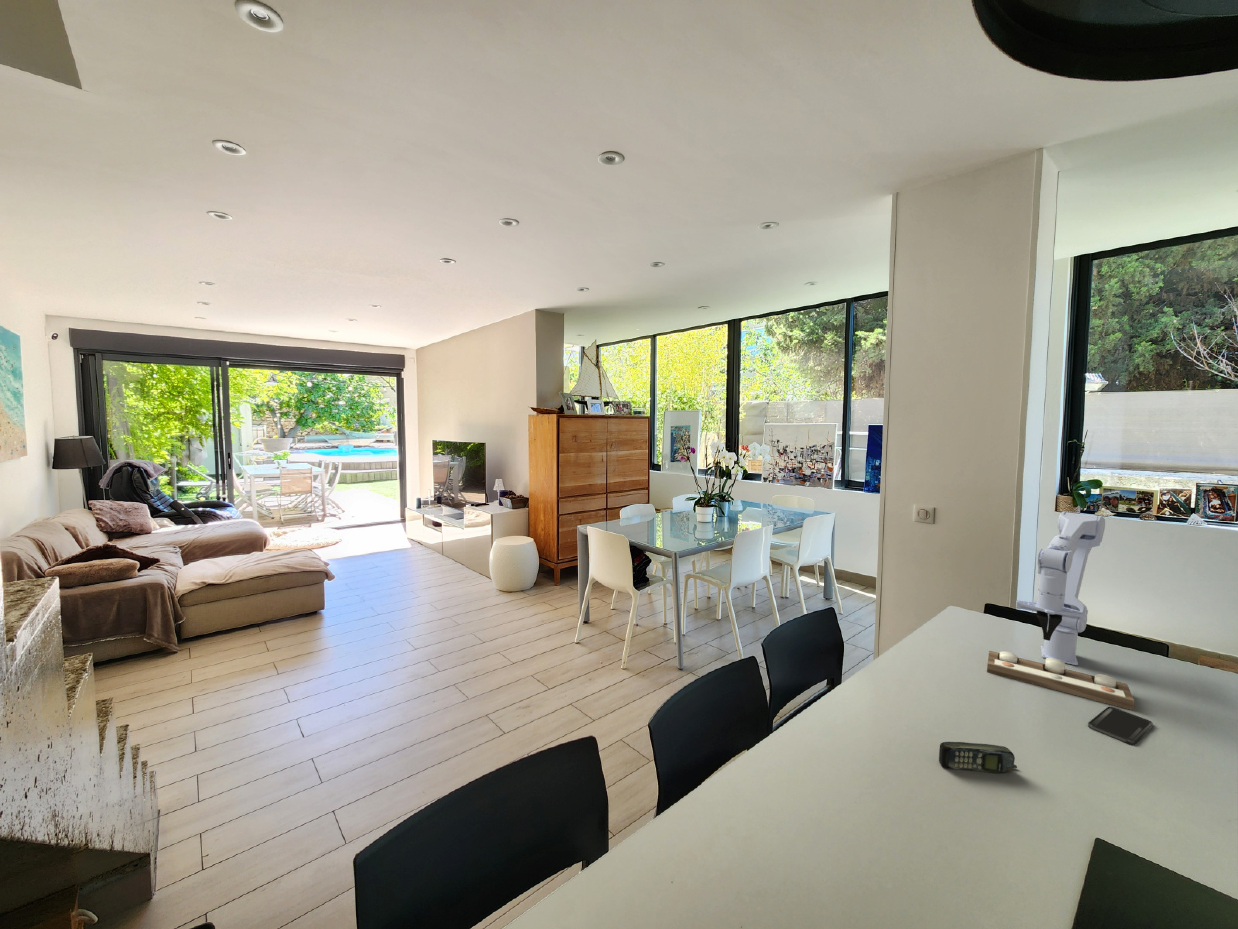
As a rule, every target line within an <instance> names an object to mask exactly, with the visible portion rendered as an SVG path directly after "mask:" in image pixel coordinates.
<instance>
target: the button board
mask: <svg viewBox="0 0 1238 929" xmlns="http://www.w3.org/2000/svg"><path fill="white" fill-rule="evenodd" d="M999 657H1000V652H997V651H994V650H993V651H992V650H988V657H987V658H988V660H987V667H986V672H987V673H989V674H994V675H996V676H997V675H998V676H1001V677H1004V678H1009V679H1013V680H1016V681H1020V682H1023V683H1028V684H1032V685H1035V686H1039V687H1043V688H1047V689H1050V690H1054V691H1059V692H1062V693H1066V694H1070V695H1074V696H1076V697H1077V696H1078V697H1080V698H1084V699H1089V700H1092V701H1096V702H1100V703H1104V704H1108V705H1111V706H1114V707H1115V706H1116V707H1119V708H1123V709H1127V710H1130V711H1134V706H1135V699H1134V697H1133V694H1132V692H1131V689H1130V687H1129V685H1128V683H1124V682H1122V681H1118V680H1116V687H1115V689H1118V690H1122V691H1123V692H1124V694H1125V698H1124V697H1120V696H1116V695H1113V694H1109V693H1105V692H1101V691H1097V690H1093V689H1089V688H1085V687H1081V686H1077V685H1073V684H1069V683H1065V682H1061V681H1057V680H1053V679H1049V678H1045V677H1042V676H1038V675H1034V674H1030V673H1026V672H1022V671H1018V670H1014V669H1010V668H1006V667H1002V666H998V665H994V663H995V659H997V660H999ZM1017 665H1021V666H1025V667H1029V668H1033V669H1037V670H1041V671H1045V672H1049V673H1053V672H1050V671H1048V670H1046V669H1045V663H1042V662H1037V661H1034V660H1029V659H1025V658H1020V657H1018V658H1017ZM1053 674H1057V675H1061V676H1065V677H1069V678H1073V679H1077V680H1081V681H1085V682H1089V683H1093V684H1094V679H1095V675H1091V674H1088V673H1083V672H1079V671H1075V670H1070V669H1067V668H1065V670H1064V673H1063V674H1058V673H1053ZM1097 685H1098V684H1097ZM1101 686H1102V685H1101ZM1105 687H1106V686H1105ZM1109 688H1110V687H1109Z"/></svg>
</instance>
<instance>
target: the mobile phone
mask: <svg viewBox="0 0 1238 929" xmlns="http://www.w3.org/2000/svg"><path fill="white" fill-rule="evenodd" d="M1015 760H1016V758H1015V754H1014V752H1012V751H1011V750H1010V748H1008V747H1007V746H1003V745H995V744H989V743H977V742H975V743H974V742H965V741H943V742H941V743H940V744H939V752H938V762H939V764H940V766H941V767H942V768H943V769H944V768H945V769H954V770H962V771H963V770H965V771H975V772H984V773H990V774H992V773H993V774H995V773H998V774H1000V773H1005V772H1009V771H1011V770H1013V769H1017V768H1018V766H1017V764H1015Z"/></svg>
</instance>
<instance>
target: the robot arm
mask: <svg viewBox="0 0 1238 929" xmlns="http://www.w3.org/2000/svg"><path fill="white" fill-rule="evenodd" d="M1057 528H1058V533H1059V534H1057V535H1055V536H1054V537H1053V538H1052V539H1051V540H1050V542H1049V544H1048V545H1047V546H1046V547H1044V548H1041V549H1040V550H1039V551H1038V554H1037V573H1038V575H1039V578H1038V586H1037V596H1036V602H1033V601H1026V600H1024V601H1023V600H1020V599H1019V600H1016V604H1015V608H1016V609H1018V610H1026V611H1031V612H1036V617H1037V619H1038V621H1039V623H1040V627H1041V630H1042V639H1043V640H1044V641H1043V645H1040V651H1041V652H1040V653H1041V657H1042V658H1043V659H1046V658H1055V659H1058V660H1061V661H1063V662H1064V663H1065V664H1069V665H1073V666H1078V665H1079V662H1078V659H1077V655H1076V654H1077V644H1078V634H1079V633H1082V632H1084V631H1085V630H1086V627H1087V623H1088V615H1089V614H1088V613H1089V609H1088V608H1087V605H1085V604H1084V603H1083V602H1082V601H1081V600H1080V599H1079V594H1080V590H1081V587H1082V584H1083V583H1082V582H1083V577H1084V574H1085V570H1086V566H1087V562H1088V557H1089V555H1090V553H1091V550H1092V548H1095V547H1099V546H1100V545H1101V543H1102V542H1103V538H1104V534H1105V528H1106V519H1105V517H1104V516H1102V515H1093V514H1085V513H1076V512H1068V511H1062V512H1060V513H1059V516H1058V519H1057Z"/></svg>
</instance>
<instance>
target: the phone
mask: <svg viewBox="0 0 1238 929" xmlns="http://www.w3.org/2000/svg"><path fill="white" fill-rule="evenodd" d="M1153 725H1154V723H1153V721H1151V720H1149V719H1147V718H1144V717H1142V716H1139V715H1136V714H1133V713H1130V712H1128V711H1125V710H1123V709H1119V708H1117V707H1115V706H1114V707H1113V706H1107V707H1106V708H1104V709H1103V710H1102V711H1101V712H1100V713H1099V714H1097V715H1095V717H1093V718H1092V719H1090V720H1089V722H1088V723H1087V727H1088V728H1089V730H1092V731H1095V732H1097V733H1098V734H1099V733H1100V734H1101V735H1104V736H1107V737H1110V738H1112V739H1114V740H1117V741H1119V742H1122V743H1124V744H1127V745H1131V746H1134V745H1136V744H1137V743H1138V742H1139V741H1140V740H1142V738H1143V736H1145V735H1146V734H1147V732H1148V731H1150V730H1151V729H1152V727H1153Z"/></svg>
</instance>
